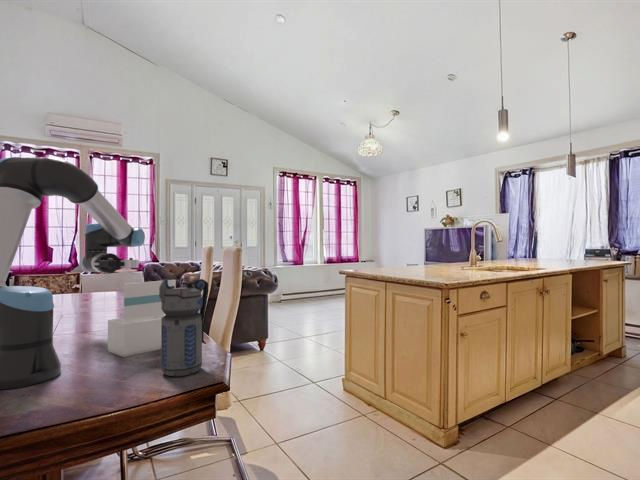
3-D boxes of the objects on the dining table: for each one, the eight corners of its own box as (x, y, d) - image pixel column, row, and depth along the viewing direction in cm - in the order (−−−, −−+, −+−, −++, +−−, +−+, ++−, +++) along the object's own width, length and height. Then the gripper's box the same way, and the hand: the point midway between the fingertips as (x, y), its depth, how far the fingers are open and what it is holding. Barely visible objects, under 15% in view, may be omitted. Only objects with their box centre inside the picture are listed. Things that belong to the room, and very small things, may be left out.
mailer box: (107, 350, 117) (107, 320, 117) (155, 340, 129) (155, 312, 130) (123, 357, 109) (123, 324, 110) (173, 346, 122) (173, 316, 122)
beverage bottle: (217, 368, 98) (216, 277, 98) (168, 382, 88) (168, 280, 89) (198, 361, 105) (198, 275, 105) (152, 372, 95) (152, 278, 96)
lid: (123, 283, 109) (124, 283, 109) (174, 279, 122) (175, 279, 122) (123, 320, 109) (124, 320, 109) (174, 312, 122) (175, 312, 122)
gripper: (126, 271, 144) (154, 273, 129) (84, 273, 132) (110, 276, 117) (126, 253, 144) (154, 252, 129) (84, 253, 132) (110, 253, 118)
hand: (133, 264), depth 123 cm, fingers closed
